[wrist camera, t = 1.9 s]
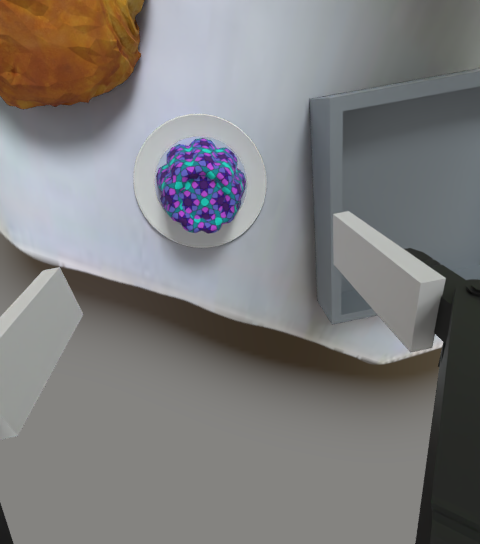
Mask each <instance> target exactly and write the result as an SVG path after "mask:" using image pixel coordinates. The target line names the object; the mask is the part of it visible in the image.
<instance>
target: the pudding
mask: <svg viewBox="0 0 480 544" xmlns="http://www.w3.org/2000/svg"><path fill="white" fill-rule="evenodd" d="M196 136H204V137H209V138H213V139H216V140H218V141H221V142H222V143H224V144H226V145H227V146H228V147H230V148H231V149H232V150H233V151H234V152H235V153H236V155H237V156H238V157H239V159H240V160H241V162H242V164H243V166H244V169H245V172H246V178H247V191H246V196H245V199H244V202H243V204H242V206H241V208H240V210H239V211H238V209H239V207H240V205H241V200H240V199H241V197H242V194H243V192H244V190H245V184H246V180H245V176H244V173H242V172H241V171H240V170H238V169H237V158H236V157H235V155H234V153H233V152H232V151H230V150H229V149H227V148H216V146H215V145H214V144H213V142H212V141H211V140H207V139H204V138H201V139H195V140H194V141H193V142H192V143H191V144H190V145H189V146H185V145H181V144H179V145H177V146H175V147H173V148H171V150H170V151H169V152H168V154H167V164H165V165H164V166H162V167H160V168H159V170H158V173H157V176H156V177H157V185H158V187H159V188H160V190H161V192H162V195H161V198H160V200H161V202H162V205H163V207H164V209H165V210H166V212H167V213H168V214H167V213H166V212H165V210H164V209H163V208H162V206H161V204H160V202H159V200H158V198H157V195H156V191H155V184H154V183H155V172H156V168H157V165H158V163H159V161H160V159H161V157H162V156H163V154H164V153H165V152H166V151H167V150H168V149H169V148H170V147H171V146H172V145H174V144H175V143H177V142H178V141H181V140H183V139H185V138H190V137H196ZM133 184H134V190H135V196H136V199H137V201H138V204H139V207H140V209H141V211H142V212H143V214H144V216H145V218H146V219H147V220H148V221H149V223H150V224H151V225H152V226H153V227H154V228H155V229H156V230H157V231H158V232H159V233H160V234H162V235H163V236H165V237H167V238H168V239H170V240H172V241H174V242H176V243H178V244H181V245H185V246H189V247H197V248H208V247H215V246H219V245H223V244H225V243H228V242H230V241H232V240H234V239H236V238H237V237H239V236H240V235H242V234H243V233H244V232H245V231H246V230H247V229H248V228H249V227H250V226H251V225H252V224H253V222H254V221H255V220H256V218H257V216H258V215H259V213H260V211H261V208H262V206H263V203H264V199H265V195H266V184H267V179H266V171H265V166H264V163H263V160H262V157H261V155H260V153H259V151H258V149H257V147H256V145H255V144H254V143H253V142H252V140H251V139H250V138H249V136H248V135H247V134H245V133H244V132H243V131H242V130H241V129H240V128H239V127H237V126H236V125H234V124H232V123H231V122H229V121H227V120H225V119H222V118H220V117H217V116H212V115H207V114H188V115H184V116H179V117H176V118H174V119H172V120H169V121H167V122H165V123H164V124H162V125H161V126H159V127H158V128H157V129H155V130H154V131H153V133H152V134H151V135H150V136H149V137H148V138H147V139H146V141H145V142H144V144H143V145H142V147H141V149H140V151H139V154H138V156H137V158H136V162H135V167H134V183H133ZM237 211H238V212H237ZM178 222H180V223H181V224H179V223H178Z"/></svg>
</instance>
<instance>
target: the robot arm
mask: <svg viewBox="0 0 480 544" xmlns="http://www.w3.org/2000/svg"><path fill="white" fill-rule="evenodd" d="M333 258H334V265H335V266H336V267H337V269H338V270H339V271H340V272H341V273H342V274H343V276H344V277H345V278H346V279H347V280H348V281H349V282H350V284H351V285H352V286H353V287H354V288H355V289H356V291H357V292H358V293H359V294H360V295H361V296H362V297H363V299H364V300H365V301H366V302H367V303H368V304H369V306H370V307H371V308H372V309H373V310H374V311H375V312H376V314H377V315H378V316H379V317H380V318H381V319H382V320H383V322H384V323H385V324H386V325H387V326H388V327H389V329H390V330H391V331H392V332H393V333H394V334H395V335H396V337H397V338H398V339H399V340H400V341H401V342H402V344H403V345H404V346H405V347H406V348H407V349H408V350H409V352H415V351H420V350H424V349H429V348H432V346H433V341H434V336H435V334H436V335H437V336H438V337H439V338H440V339H441V340H442V341H443V347H442V351H441V356H440V360H439V365H438V366H439V375H438V381H437V390H436V396H435V403H434V411H433V418H432V426H431V433H430V440H429V448H428V455H427V462H426V470H425V477H424V485H423V492H422V499H421V506H420V514H419V521H418V529H417V536H416V543H415V544H480V280H478V279H470V280H465V279H464V278H462V277H461V276H459V275H458V274H456V273H455V272H453V271H451V270H450V269H448V268H447V267H445V266H444V265H441V264H440V263H439V262H437V261H436V260H433V258H431V257H430V256H428V255H427V254H425V253H424V252H421V251H418V250H415V249H412V248H406V249H403V248H401V247H400V246H399V245H397V244H396V243H394V242H393V241H391V240H390V239H388V238H387V237H385V236H384V235H383V234H381V233H380V232H378V231H377V230H375V229H374V228H372V227H371V226H370V225H368V224H367V223H365V222H364V221H362V220H361V219H359V218H358V217H357V216H355V215H354V214H352V213H351V212H349V211H346V212H341V213H336V214H333ZM82 316H83V313H82V311H81V309H80V307H79V305H78V303H77V301H76V299H75V297H74V295H73V293H72V291H71V289H70V287H69V285H68V283H67V281H66V279H65V277H64V275H63V273H62V271H61V269H60V267H59V268H54V269H49V270H44V271H42V272H41V274H40V275H39V276H38V277H37V278H36V279H35V280H34V281H33V282H32V283H31V284H30V286H29V287H28V288H27V289H26V290H25V291H24V292H23V293H22V294H21V295H20V296H19V297H18V299H17V300H16V301H15V302H14V303H13V304H12V305H11V306H10V307H9V308H8V309H7V310H6V311H5V312H4V313H3V315H2V316H1V317H0V440H1V439H6V438H11V437H16V436H18V435H19V433H20V431H21V429H22V427H23V425H24V423H25V422H26V420H27V418H28V416H29V414H30V413H31V411H32V409H33V407H34V405H35V403H36V401H37V399H38V398H39V396H40V394H41V392H42V390H43V388H44V387H45V385H46V383H47V381H48V379H49V377H50V375H51V374H52V372H53V370H54V368H55V366H56V364H57V362H58V361H59V359H60V357H61V355H62V353H63V351H64V349H65V347H66V346H67V344H68V342H69V340H70V338H71V336H72V335H73V333H74V331H75V329H76V327H77V325H78V323H79V322H80V320H81V318H82ZM0 544H13V541H12V538H11V534H10V531H9V528H8V525H7V522H6V519H5V516H4V513H3V510H2V506H1V503H0Z"/></svg>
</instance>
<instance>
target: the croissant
mask: <svg viewBox="0 0 480 544" xmlns="http://www.w3.org/2000/svg"><path fill="white" fill-rule="evenodd" d="M144 1H145V0H0V96H1V97H2V99H3V100H4V101H5V102H6V104H8V105H9V106H16V107H18V108H20V109H28V108H32V107H36V106H45V105H51V106H54V107H56V106H58V105H73V104H75V103H78V102H87V103H88V102H89V100H90V99H91V98H92V97H95V96H99V95H101V94H103V93H106V92H109V91H111V90H112V89H113V88H115V87H116V86H118V85H120V84H122V83H123V82H124V81H126V80H127V79H128V77H129V76H130V75H131V73H132V72H133V71H134V67H135V65H136V63H137V61H138V60H139V58H140V57H141V53H140V52H139V51H138V45H139V43H140V35H139V26H138V24H137V22H136V20H135V16H136V15H137V14H138V13H139V12H140V11H141V9H142V6H143V3H144Z"/></svg>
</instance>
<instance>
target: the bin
mask: <svg viewBox="0 0 480 544" xmlns="http://www.w3.org/2000/svg"><path fill="white" fill-rule="evenodd" d="M310 120H311V147H312V173H313V199H314V225H315V251H316V277H317V301H318V303H319V304H320V306H321V307H322V309H323V311H324V312H325V314H326V316H327V317H328V319H329V321H330V322H331V324H337V323H342V322H347V321H352V320H357V319H362V318H366V317H371V316H376V315H377V314H376V312H375V311H374V310H373V309H372V308H371V307H370V306H369V304H368V303H367V302H366V301H365V300H364V299H363V297H362V296H361V295H360V294H359V293H358V292H357V291H356V289H355V288H354V287H353V286H352V285H351V284H350V282H349V281H348V280H347V279H346V278H345V277H344V276H343V274H342V273H341V272H340V271H339V270H338V269H337V267H336V266H335V265H334V258H333V214H336V213H341V212H346V211H349V212H351V213H352V214H354V215H355V216H357V217H358V218H359V219H361V220H362V221H364V222H365V223H367V224H368V225H370V226H371V227H372V228H374V229H375V230H377V231H378V232H380V233H381V234H383V235H384V236H385V237H387V238H388V239H390V240H391V241H393V242H394V243H396V244H397V245H399V246H400V247H401V248H403V249H406V248H412V249H415V250H418V251H421V252H424V253H425V254H427V255H428V256H430V257H431V258H433V260H436V261H437V262H439V263H440V264H441V265H444V266H445V267H447V268H448V269H450V270H451V271H453V272H455V273H456V274H458V275H459V276H461V277H462V278H464V279H465V280H470V279H478V280H480V68H478V69H473V70H467V71H462V72H456V73H451V74H445V75H440V76H434V77H428V78H423V79H417V80H412V81H406V82H401V83H395V84H390V85H384V86H379V87H373V88H368V89H362V90H356V91H351V92H345V93H340V94H334V95H329V96H323V97H318V98H312V99H310Z"/></svg>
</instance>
